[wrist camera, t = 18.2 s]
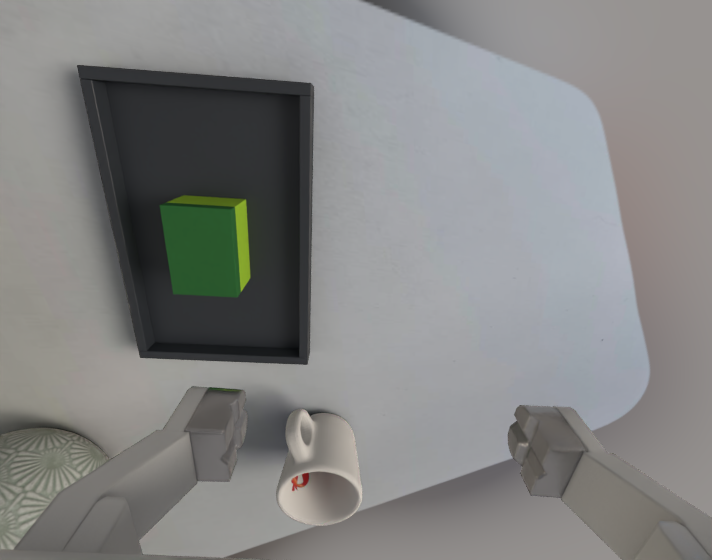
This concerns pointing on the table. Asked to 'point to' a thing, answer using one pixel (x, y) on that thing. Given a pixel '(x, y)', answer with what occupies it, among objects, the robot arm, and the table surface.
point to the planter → (38, 474)
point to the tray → (209, 179)
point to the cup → (319, 470)
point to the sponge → (206, 245)
